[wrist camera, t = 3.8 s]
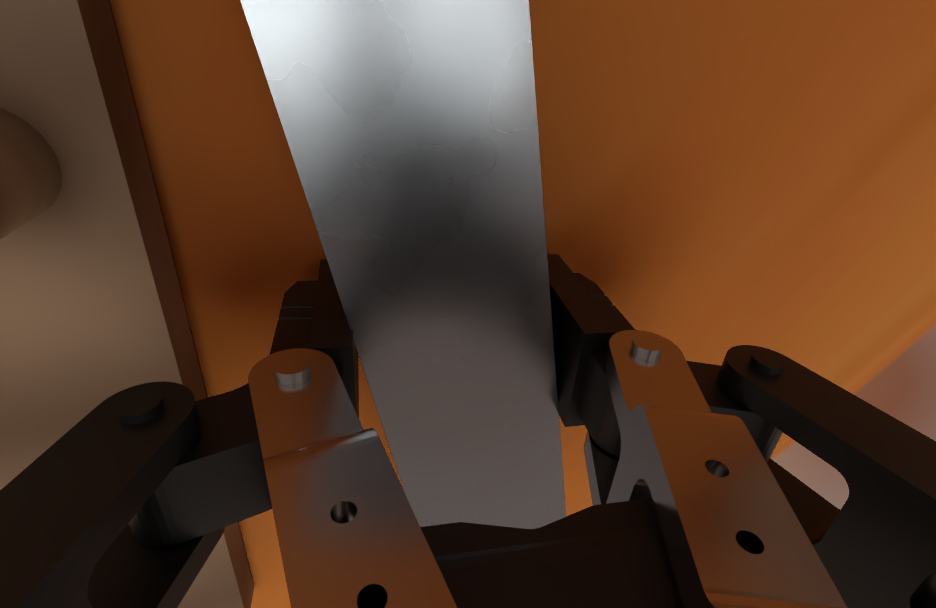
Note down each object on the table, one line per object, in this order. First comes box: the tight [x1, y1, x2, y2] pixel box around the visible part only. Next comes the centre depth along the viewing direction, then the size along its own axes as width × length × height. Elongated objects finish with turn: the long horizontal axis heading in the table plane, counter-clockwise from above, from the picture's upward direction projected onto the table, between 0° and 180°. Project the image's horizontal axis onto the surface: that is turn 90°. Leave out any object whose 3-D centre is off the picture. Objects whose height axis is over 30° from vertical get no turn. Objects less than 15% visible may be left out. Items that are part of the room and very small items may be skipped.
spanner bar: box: [240, 0, 566, 529], centre depth 11 cm, size 16×4×4 cm, turn 9°
